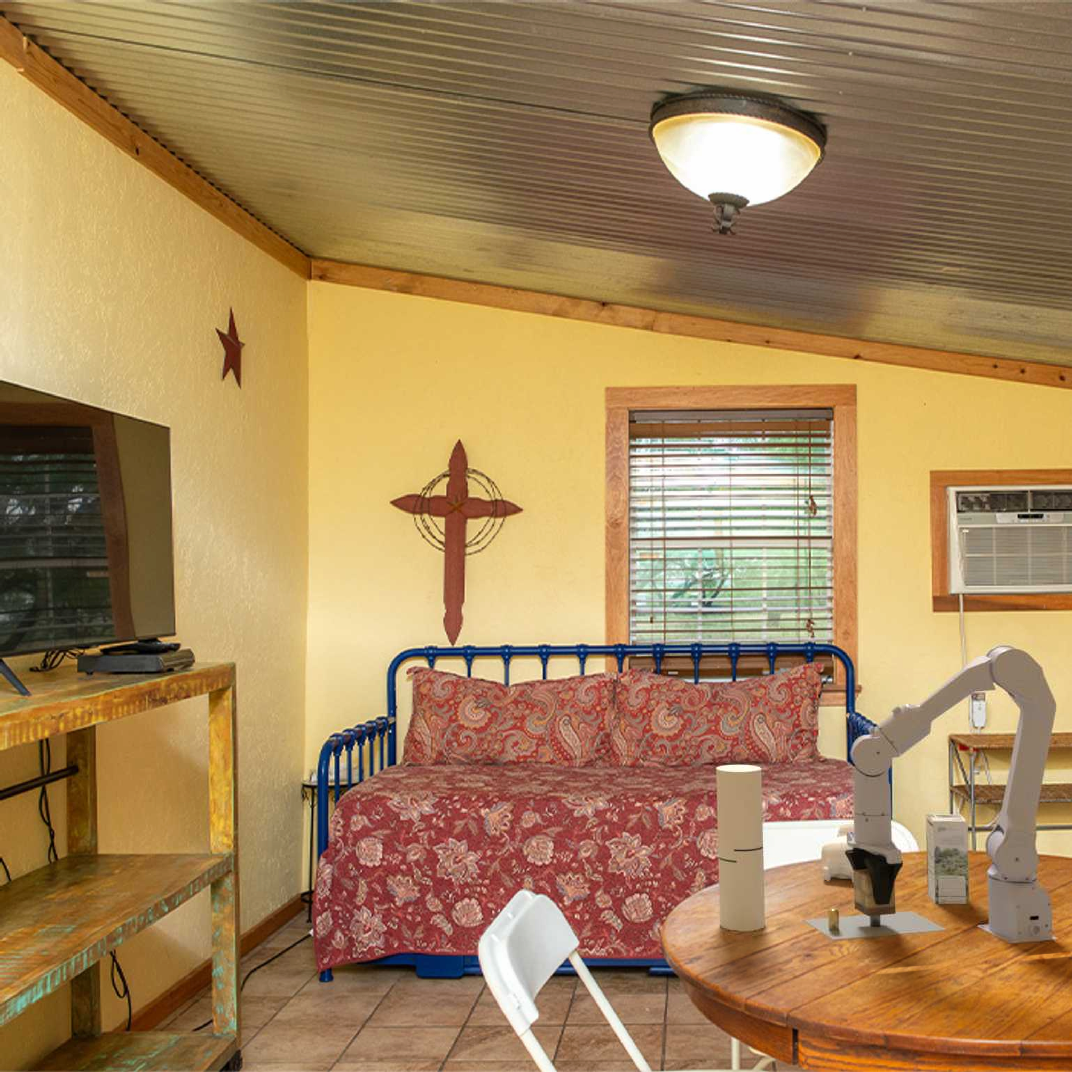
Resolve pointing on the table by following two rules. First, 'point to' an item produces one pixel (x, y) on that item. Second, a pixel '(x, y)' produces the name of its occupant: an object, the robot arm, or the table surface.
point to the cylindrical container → (740, 847)
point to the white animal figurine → (838, 855)
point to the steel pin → (875, 921)
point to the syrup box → (947, 859)
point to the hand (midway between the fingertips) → (874, 899)
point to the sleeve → (869, 896)
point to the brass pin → (833, 919)
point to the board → (889, 926)
